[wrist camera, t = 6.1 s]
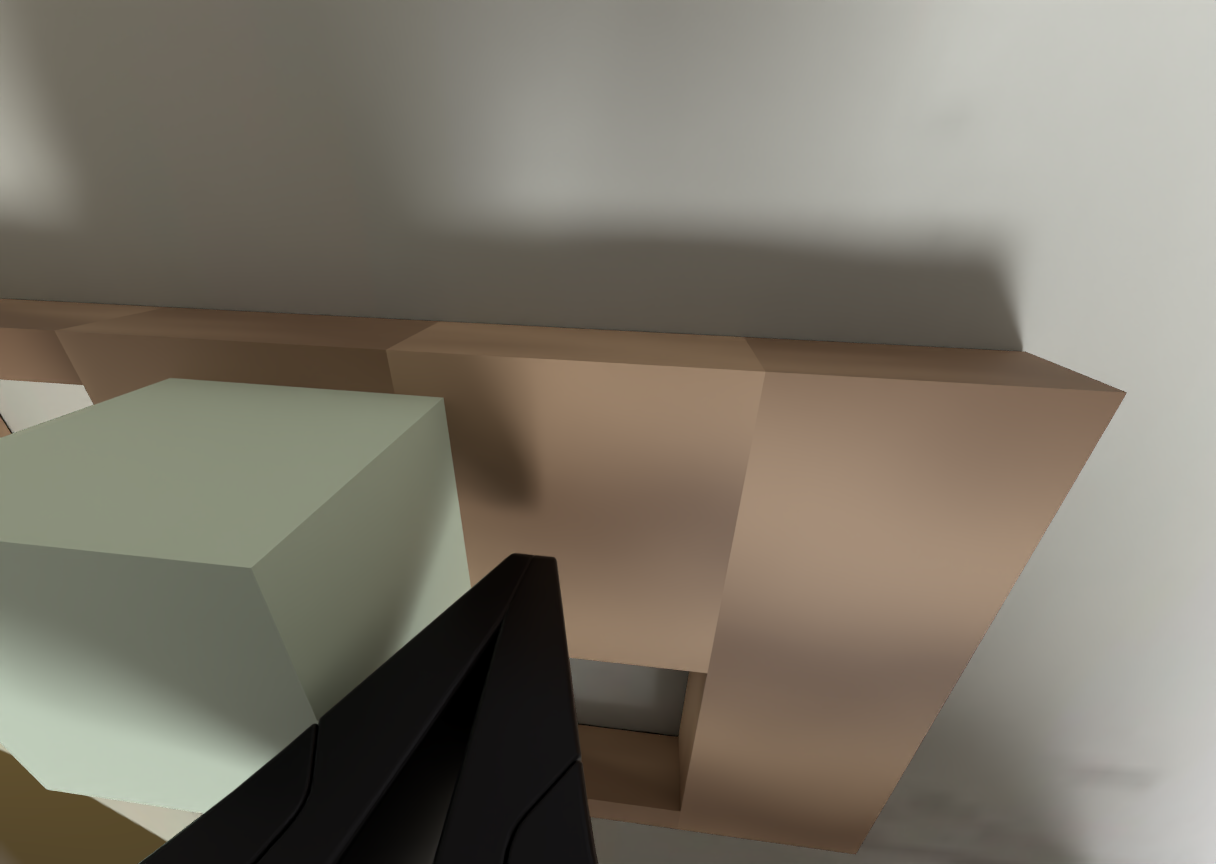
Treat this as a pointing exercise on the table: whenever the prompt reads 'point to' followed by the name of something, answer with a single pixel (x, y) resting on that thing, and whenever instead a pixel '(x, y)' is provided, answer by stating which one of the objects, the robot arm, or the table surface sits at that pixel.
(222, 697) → the block
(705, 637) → the board
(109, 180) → the table surface
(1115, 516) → the table surface
